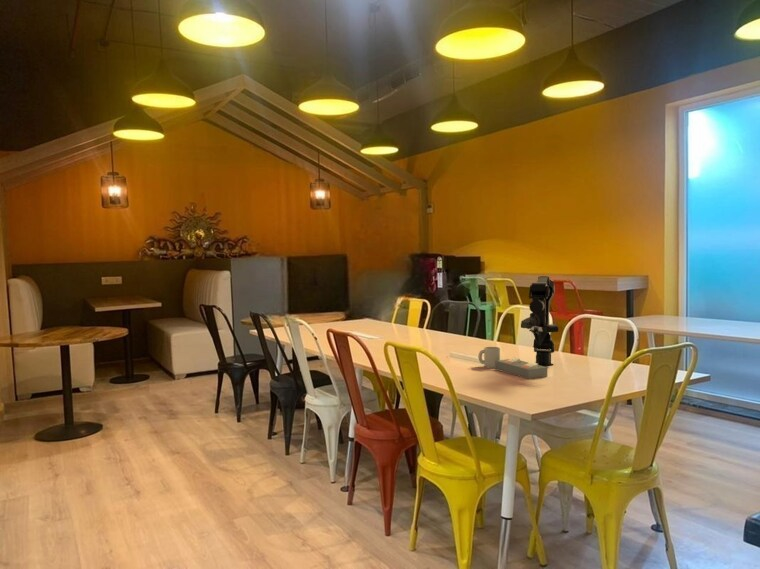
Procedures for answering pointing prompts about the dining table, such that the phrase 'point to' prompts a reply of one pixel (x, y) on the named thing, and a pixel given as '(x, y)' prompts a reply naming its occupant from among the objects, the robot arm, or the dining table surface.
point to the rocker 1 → (513, 360)
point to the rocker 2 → (530, 365)
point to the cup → (489, 356)
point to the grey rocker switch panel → (521, 369)
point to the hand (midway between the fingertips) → (539, 345)
